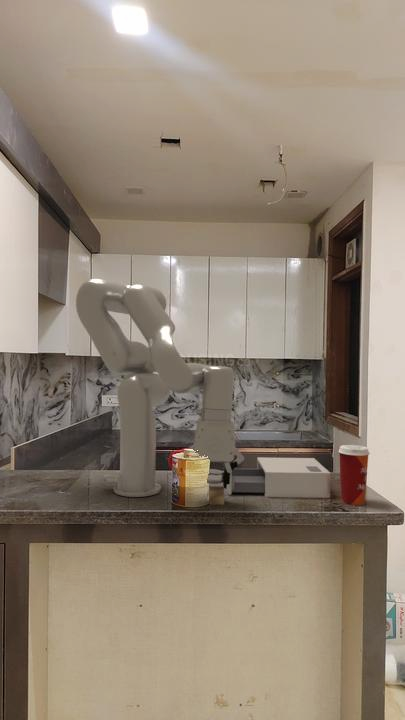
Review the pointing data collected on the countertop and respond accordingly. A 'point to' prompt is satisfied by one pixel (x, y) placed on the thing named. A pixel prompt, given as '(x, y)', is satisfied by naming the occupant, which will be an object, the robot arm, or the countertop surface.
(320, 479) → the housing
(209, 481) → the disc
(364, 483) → the paper cup
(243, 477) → the drawer
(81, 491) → the countertop surface
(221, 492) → the brown wooden cube
